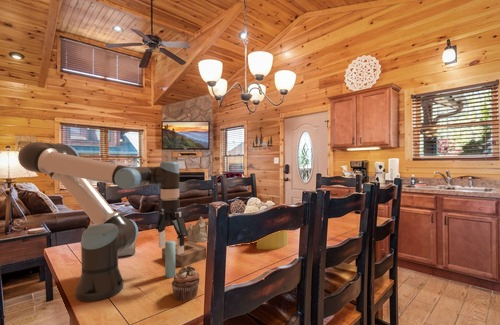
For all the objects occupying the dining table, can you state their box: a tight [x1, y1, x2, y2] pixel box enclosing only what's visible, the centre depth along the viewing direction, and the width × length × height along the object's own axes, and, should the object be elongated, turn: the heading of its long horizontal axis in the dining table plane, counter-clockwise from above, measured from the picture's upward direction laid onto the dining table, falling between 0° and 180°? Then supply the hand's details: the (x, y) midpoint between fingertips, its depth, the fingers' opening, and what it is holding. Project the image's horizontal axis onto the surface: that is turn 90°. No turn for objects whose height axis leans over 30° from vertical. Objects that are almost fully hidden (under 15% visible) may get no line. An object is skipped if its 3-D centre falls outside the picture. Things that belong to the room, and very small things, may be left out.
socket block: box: [161, 240, 207, 268], centre depth 130 cm, size 16×16×5 cm
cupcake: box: [170, 264, 200, 302], centre depth 94 cm, size 10×10×10 cm
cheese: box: [253, 230, 289, 250], centre depth 156 cm, size 26×26×15 cm
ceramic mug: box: [118, 241, 136, 258], centre depth 136 cm, size 11×8×8 cm
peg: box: [164, 240, 176, 279], centre depth 110 cm, size 4×4×14 cm
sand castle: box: [185, 216, 208, 244], centre depth 163 cm, size 16×16×15 cm
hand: (171, 250), depth 110 cm, fingers open, 13 cm apart
